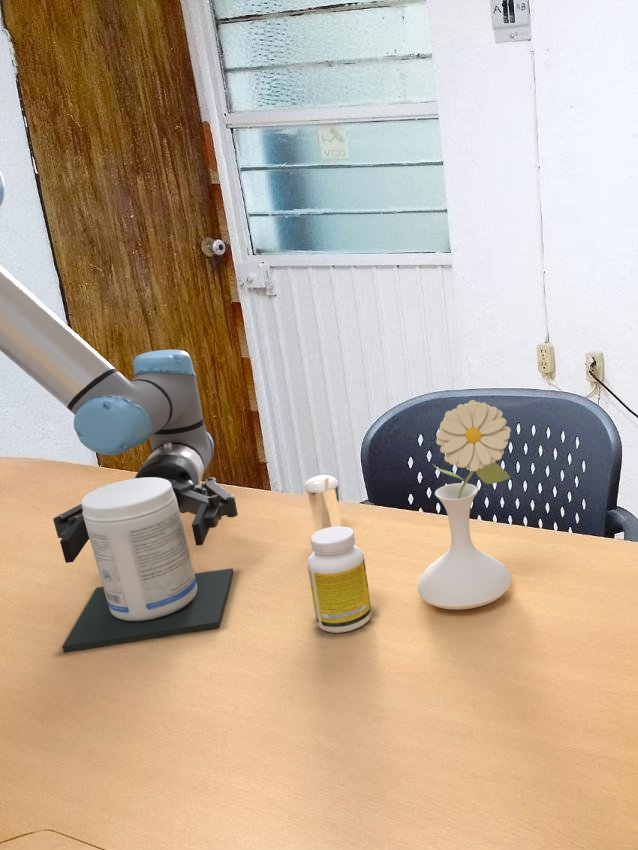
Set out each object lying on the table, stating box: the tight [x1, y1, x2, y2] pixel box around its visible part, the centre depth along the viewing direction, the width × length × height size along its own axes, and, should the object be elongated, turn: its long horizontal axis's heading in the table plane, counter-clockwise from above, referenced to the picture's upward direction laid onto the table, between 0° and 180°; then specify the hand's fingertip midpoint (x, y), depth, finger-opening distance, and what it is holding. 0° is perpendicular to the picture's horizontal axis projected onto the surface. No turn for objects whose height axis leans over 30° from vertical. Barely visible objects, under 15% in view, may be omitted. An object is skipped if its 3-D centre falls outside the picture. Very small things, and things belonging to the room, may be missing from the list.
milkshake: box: [303, 474, 341, 533], centre depth 116 cm, size 5×5×10 cm
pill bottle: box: [306, 525, 372, 634], centre depth 95 cm, size 6×6×11 cm
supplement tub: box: [80, 477, 197, 621], centre depth 97 cm, size 10×10×15 cm
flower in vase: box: [416, 399, 512, 610], centre depth 97 cm, size 13×11×25 cm
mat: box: [61, 567, 234, 653], centre depth 100 cm, size 16×14×1 cm
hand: (133, 543), depth 95 cm, fingers open, 13 cm apart
